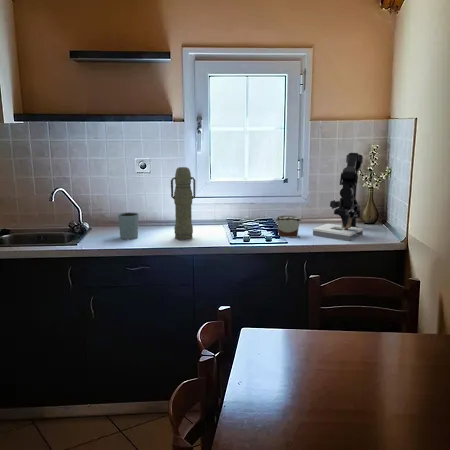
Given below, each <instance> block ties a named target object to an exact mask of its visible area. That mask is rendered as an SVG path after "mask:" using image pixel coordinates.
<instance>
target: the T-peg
mask: <svg viewBox="0 0 450 450" xmlns="http://www.w3.org/2000/svg"><path fill="white" fill-rule="evenodd" d="M341 225H342V228H344V230H348V228H351V217H350V218H349V220H348V223H347V226H346V227H344V226H343V223H342V222H341Z"/></svg>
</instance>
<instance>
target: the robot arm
mask: <svg viewBox="0 0 450 450" xmlns="http://www.w3.org/2000/svg"><path fill="white" fill-rule="evenodd" d="M345 162H346V167H344V168H343V169H342V172H340V178H339V179H340V180H339V186H342V188H341V189H340V190H339V195H340V198H339V200H337V201H336V200H331V201H330V203H329V207H331V209H332V210H333V215H336V216H339V217H340V218H341V224H342V223H343V226H344V227H346V226H347V223H348V220H349V218H350V217H351V227H356V228H359V226H357V219H359V218H361V206H360V205H359V203H358V199H357V190H358V179H359V175H358V174H359V172H360V169H362V165H363V163H364V156H363V155H362V154H359V153H358V152H348V153H347V154H346V158H345Z"/></svg>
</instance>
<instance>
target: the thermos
mask: <svg viewBox="0 0 450 450" xmlns="http://www.w3.org/2000/svg"><path fill="white" fill-rule="evenodd" d="M192 180H193V181H192ZM174 182H175V183H174ZM192 183H193V187H191V184H192ZM174 184H175V189H174ZM192 189H193V190H192ZM170 191H171V192H170V194H171V195H170V198H172V199H173V200H174V209H175V223H174V239H175V240H178V241H189V240H192V239H193V233H194V230H193V229H194V227H193V221H192V205H193V200H194V199H195V198H196V178H194V176H192V174H191V170H190V168H188V167H187V166H186V167H185V166H181V167H179V166H178V167H177V168H176V170H175V175H174V177H172V178H171V180H170Z"/></svg>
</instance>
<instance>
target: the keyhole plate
mask: <svg viewBox="0 0 450 450" xmlns="http://www.w3.org/2000/svg"><path fill="white" fill-rule="evenodd" d="M354 234H355V235H354ZM363 234H364V228H363V227H358V228H356V227H351V228H348V230H344V228H342V224H333V223H324V224H322V225H319V226H316V227H314V228H312V236H316V237H322V238H327V239H328V238H329V239H333V240H340V241H348V242H349V241H350V242H351V241H352V236H353V235H354V236H360V235H361V236H364V235H363Z"/></svg>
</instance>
